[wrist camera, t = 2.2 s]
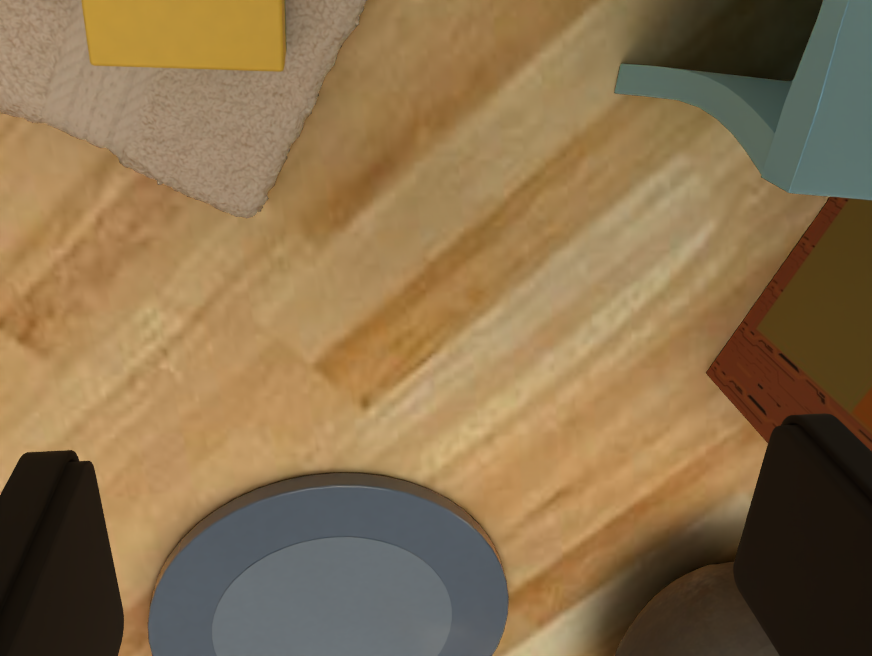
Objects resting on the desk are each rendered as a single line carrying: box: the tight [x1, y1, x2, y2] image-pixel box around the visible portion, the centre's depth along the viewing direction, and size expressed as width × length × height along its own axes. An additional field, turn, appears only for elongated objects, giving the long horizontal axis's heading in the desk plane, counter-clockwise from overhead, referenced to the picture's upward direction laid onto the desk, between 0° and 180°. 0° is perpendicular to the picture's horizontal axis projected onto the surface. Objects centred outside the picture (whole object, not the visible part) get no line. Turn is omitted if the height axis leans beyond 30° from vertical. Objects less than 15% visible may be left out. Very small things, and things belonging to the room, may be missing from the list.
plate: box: [148, 473, 509, 656], centre depth 40 cm, size 18×18×1 cm
